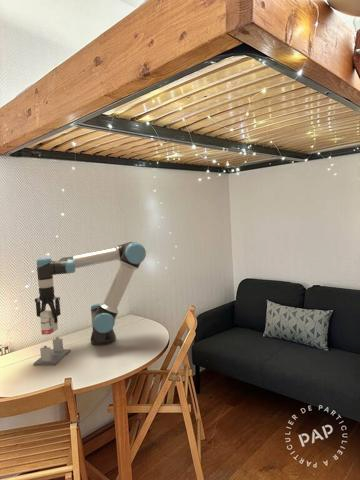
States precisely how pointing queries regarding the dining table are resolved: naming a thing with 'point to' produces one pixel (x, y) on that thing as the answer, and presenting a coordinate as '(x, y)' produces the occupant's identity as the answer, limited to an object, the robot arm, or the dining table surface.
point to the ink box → (47, 322)
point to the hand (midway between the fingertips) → (49, 328)
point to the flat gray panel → (52, 353)
